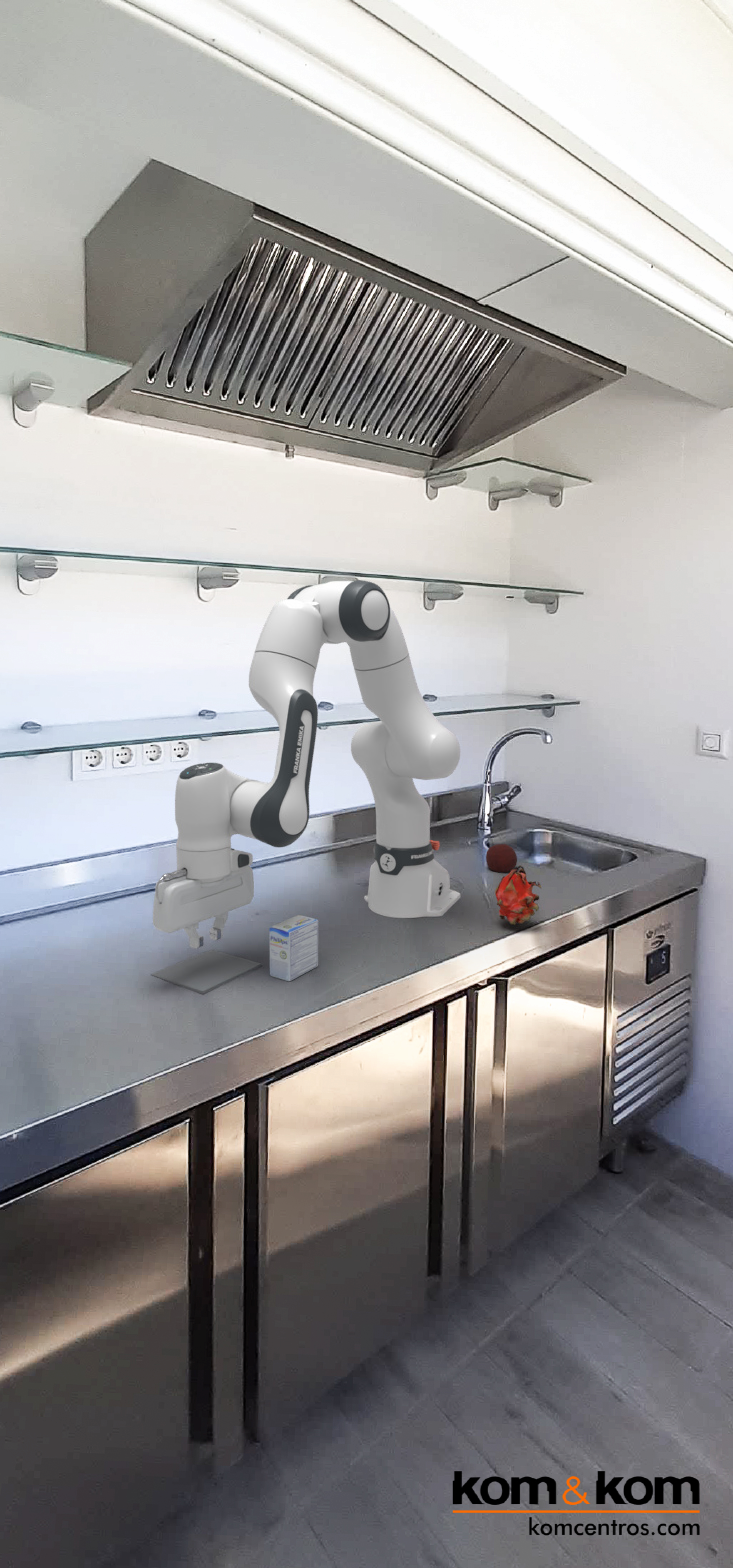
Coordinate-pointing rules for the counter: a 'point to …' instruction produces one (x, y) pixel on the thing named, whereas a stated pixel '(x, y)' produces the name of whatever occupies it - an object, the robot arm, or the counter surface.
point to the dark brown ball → (501, 858)
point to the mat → (207, 971)
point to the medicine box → (293, 947)
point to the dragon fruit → (516, 897)
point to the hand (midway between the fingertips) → (206, 942)
